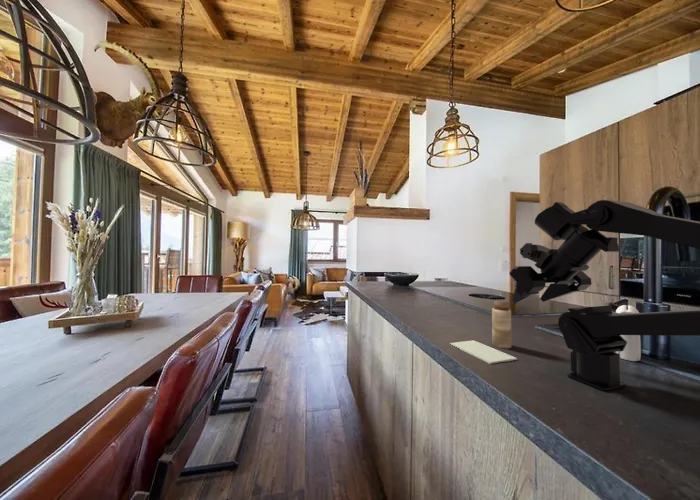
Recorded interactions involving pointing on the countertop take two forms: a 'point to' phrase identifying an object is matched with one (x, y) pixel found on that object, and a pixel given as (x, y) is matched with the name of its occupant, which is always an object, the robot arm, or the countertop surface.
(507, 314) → the pepper mill
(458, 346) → the sage mat
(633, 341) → the white rounded-top upright
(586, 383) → the robot arm
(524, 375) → the countertop surface
